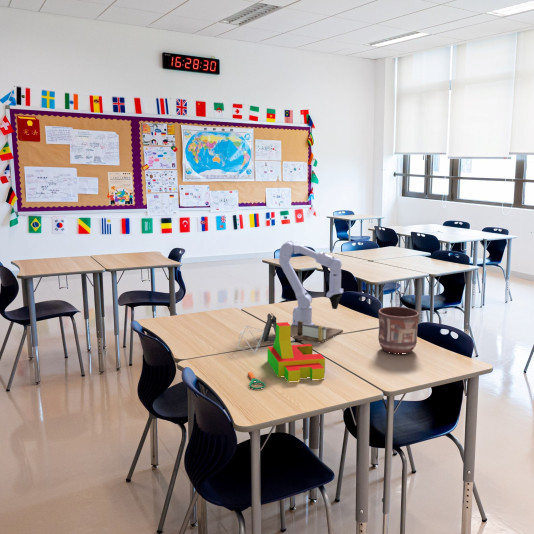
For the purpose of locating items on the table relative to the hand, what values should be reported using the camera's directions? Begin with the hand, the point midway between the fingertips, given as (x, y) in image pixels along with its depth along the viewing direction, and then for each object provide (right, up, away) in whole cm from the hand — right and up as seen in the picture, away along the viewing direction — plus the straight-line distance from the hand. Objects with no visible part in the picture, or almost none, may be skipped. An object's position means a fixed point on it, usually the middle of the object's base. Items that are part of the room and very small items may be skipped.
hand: (334, 308), depth 288 cm
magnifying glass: (-39, -23, -72) cm, 86 cm away
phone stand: (-32, -13, -19) cm, 40 cm away
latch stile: (-10, -13, -24) cm, 29 cm away
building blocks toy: (-22, -21, -59) cm, 67 cm away
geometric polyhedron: (-42, -16, -33) cm, 56 cm away
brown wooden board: (-9, -12, -12) cm, 19 cm away
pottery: (+23, -16, -36) cm, 46 cm away
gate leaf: (-12, -12, -20) cm, 26 cm away
